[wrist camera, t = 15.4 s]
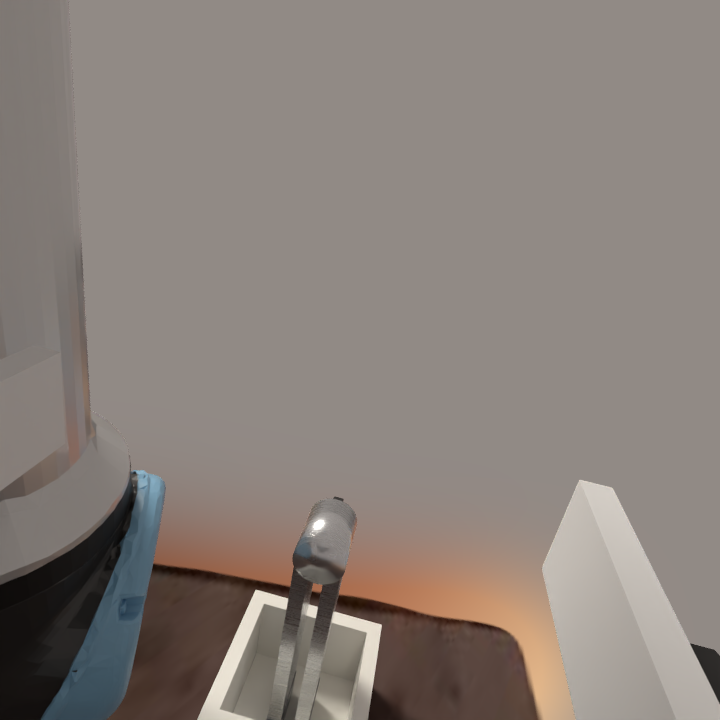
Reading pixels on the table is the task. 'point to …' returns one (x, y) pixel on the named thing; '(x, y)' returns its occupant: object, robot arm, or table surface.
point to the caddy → (259, 661)
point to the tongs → (311, 565)
